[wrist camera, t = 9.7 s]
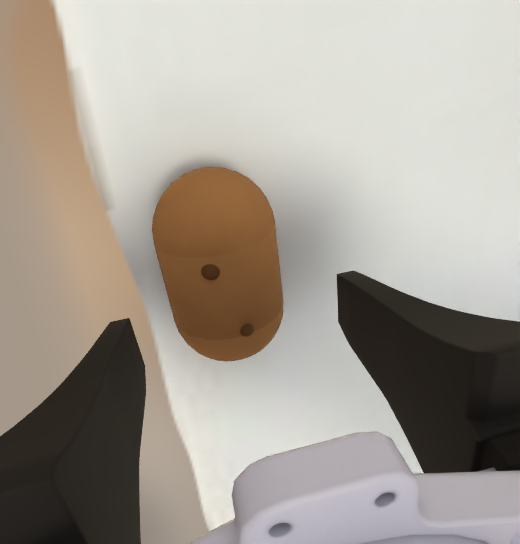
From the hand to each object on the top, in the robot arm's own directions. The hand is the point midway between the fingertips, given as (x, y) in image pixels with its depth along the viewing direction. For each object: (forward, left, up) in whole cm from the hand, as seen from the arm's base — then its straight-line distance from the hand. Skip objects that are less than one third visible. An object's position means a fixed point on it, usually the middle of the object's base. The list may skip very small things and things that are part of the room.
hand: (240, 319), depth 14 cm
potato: (0, 0, -6) cm, 6 cm away
